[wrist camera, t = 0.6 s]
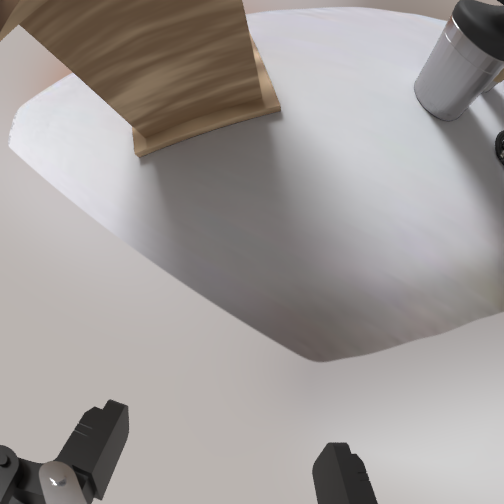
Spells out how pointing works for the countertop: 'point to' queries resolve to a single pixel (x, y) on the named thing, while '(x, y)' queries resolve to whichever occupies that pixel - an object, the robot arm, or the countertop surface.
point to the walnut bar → (6, 10)
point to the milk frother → (500, 146)
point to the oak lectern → (157, 61)
